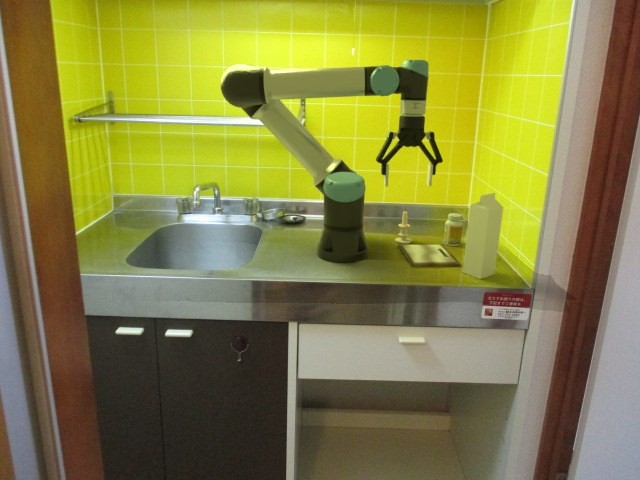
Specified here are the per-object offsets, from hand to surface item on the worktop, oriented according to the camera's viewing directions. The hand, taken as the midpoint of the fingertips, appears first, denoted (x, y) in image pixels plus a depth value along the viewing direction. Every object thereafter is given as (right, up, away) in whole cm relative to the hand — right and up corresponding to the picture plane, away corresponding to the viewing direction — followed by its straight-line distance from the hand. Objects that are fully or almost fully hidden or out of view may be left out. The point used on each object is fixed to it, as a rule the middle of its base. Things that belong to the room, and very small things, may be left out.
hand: (407, 185), depth 154 cm
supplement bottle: (+15, -18, +4) cm, 24 cm away
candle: (0, -18, +6) cm, 19 cm away
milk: (+16, -26, -20) cm, 36 cm away
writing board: (+5, -22, -7) cm, 23 cm away
